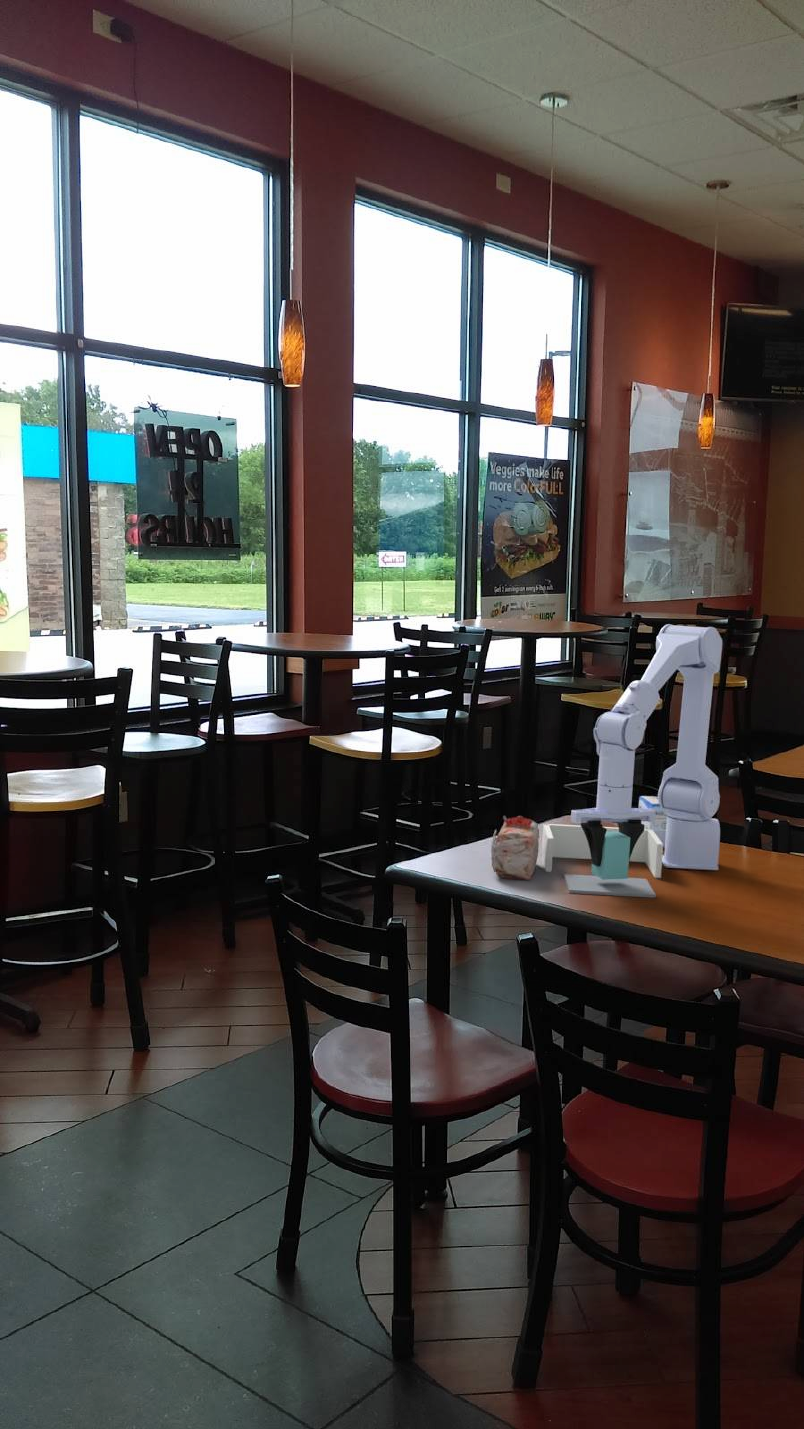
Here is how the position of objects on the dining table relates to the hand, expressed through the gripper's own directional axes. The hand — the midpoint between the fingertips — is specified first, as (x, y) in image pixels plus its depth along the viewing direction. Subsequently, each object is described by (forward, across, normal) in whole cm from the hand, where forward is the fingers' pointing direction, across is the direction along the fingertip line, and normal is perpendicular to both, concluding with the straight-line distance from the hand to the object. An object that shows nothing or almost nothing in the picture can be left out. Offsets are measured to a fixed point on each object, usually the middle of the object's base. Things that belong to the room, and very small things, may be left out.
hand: (610, 864), depth 190 cm
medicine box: (+4, -24, -29) cm, 38 cm away
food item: (+4, +12, -12) cm, 18 cm away
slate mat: (+4, 0, 0) cm, 4 cm away
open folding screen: (+4, -5, -13) cm, 15 cm away
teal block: (+2, 0, 0) cm, 2 cm away
